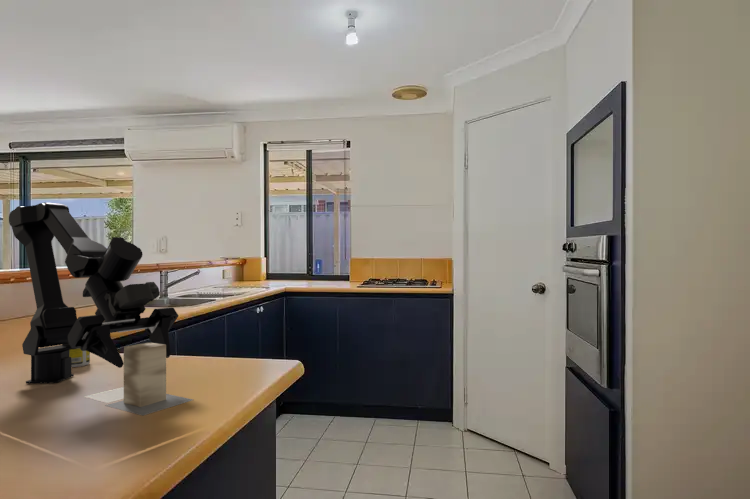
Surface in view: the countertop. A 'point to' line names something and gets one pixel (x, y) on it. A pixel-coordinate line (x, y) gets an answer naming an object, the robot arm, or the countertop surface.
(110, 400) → the pad
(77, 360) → the supplement bottle
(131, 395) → the birch block
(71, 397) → the countertop surface
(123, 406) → the gray tile
